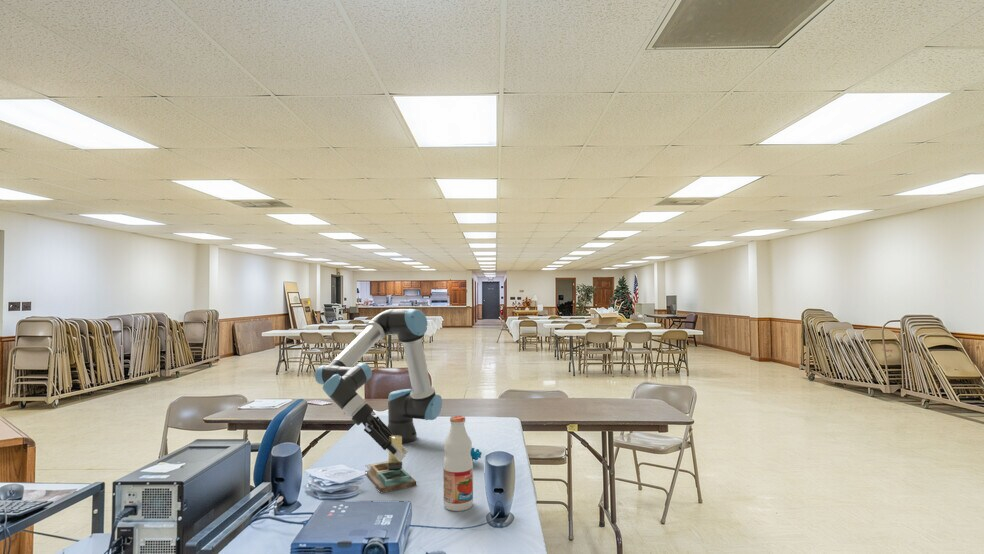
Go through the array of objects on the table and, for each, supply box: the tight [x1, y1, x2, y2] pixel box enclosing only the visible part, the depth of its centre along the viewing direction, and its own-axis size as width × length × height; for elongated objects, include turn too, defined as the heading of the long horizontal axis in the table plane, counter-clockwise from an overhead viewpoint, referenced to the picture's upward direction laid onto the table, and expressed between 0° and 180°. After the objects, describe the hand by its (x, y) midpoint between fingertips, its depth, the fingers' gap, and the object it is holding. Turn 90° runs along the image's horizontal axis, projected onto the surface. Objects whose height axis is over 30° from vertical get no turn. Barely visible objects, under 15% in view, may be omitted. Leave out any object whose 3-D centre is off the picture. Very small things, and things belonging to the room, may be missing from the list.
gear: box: [471, 447, 482, 462], centre depth 190 cm, size 11×6×10 cm
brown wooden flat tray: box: [364, 461, 417, 494], centre depth 175 cm, size 13×20×4 cm, turn 30°
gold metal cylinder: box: [387, 435, 403, 471], centre depth 171 cm, size 5×5×11 cm
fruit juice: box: [442, 415, 474, 512], centre depth 153 cm, size 9×9×28 cm
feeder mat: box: [364, 460, 388, 470], centre depth 189 cm, size 10×9×1 cm
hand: (403, 456), depth 171 cm, fingers closed on gold metal cylinder, 5 cm apart
